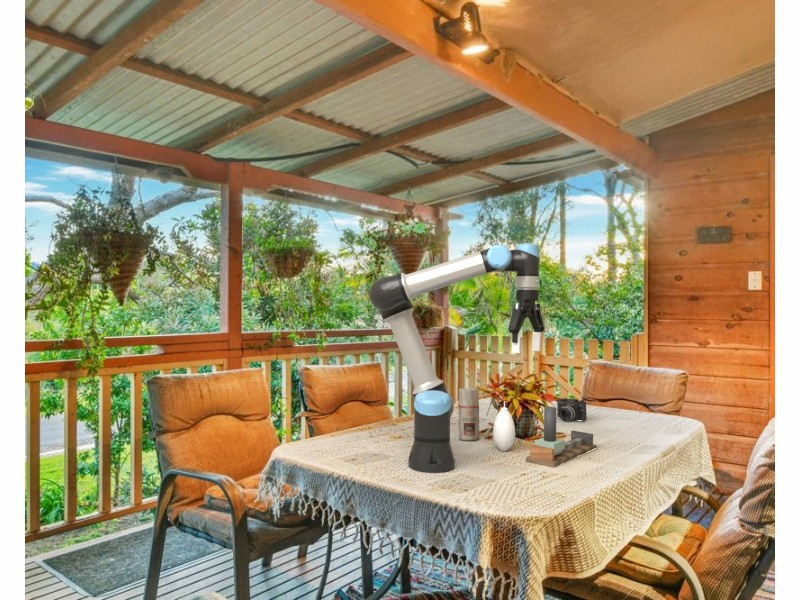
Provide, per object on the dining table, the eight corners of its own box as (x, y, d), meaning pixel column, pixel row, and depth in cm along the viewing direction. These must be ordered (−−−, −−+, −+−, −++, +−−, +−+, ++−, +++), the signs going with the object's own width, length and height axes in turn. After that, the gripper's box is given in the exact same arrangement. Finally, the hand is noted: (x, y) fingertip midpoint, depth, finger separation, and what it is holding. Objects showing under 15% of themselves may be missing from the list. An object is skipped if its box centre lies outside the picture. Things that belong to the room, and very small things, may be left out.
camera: (548, 419, 260) (548, 397, 260) (560, 416, 267) (561, 395, 267) (576, 424, 249) (576, 402, 249) (588, 421, 257) (588, 399, 257)
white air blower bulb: (498, 453, 197) (499, 402, 197) (489, 448, 204) (489, 399, 204) (518, 452, 199) (519, 402, 199) (508, 447, 206) (509, 398, 206)
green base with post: (553, 457, 184) (554, 410, 184) (534, 453, 189) (535, 407, 189) (564, 452, 190) (565, 407, 190) (545, 448, 195) (546, 405, 195)
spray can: (454, 439, 216) (455, 388, 216) (462, 435, 224) (463, 385, 224) (475, 442, 212) (475, 390, 212) (482, 438, 220) (483, 387, 220)
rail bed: (553, 467, 181) (553, 450, 181) (526, 461, 188) (526, 445, 188) (596, 448, 206) (596, 434, 206) (571, 444, 213) (571, 429, 213)
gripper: (518, 287, 178) (517, 354, 178) (554, 290, 196) (553, 350, 196) (498, 288, 183) (497, 352, 183) (535, 290, 201) (534, 349, 201)
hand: (526, 351), depth 189 cm, fingers open, 13 cm apart
